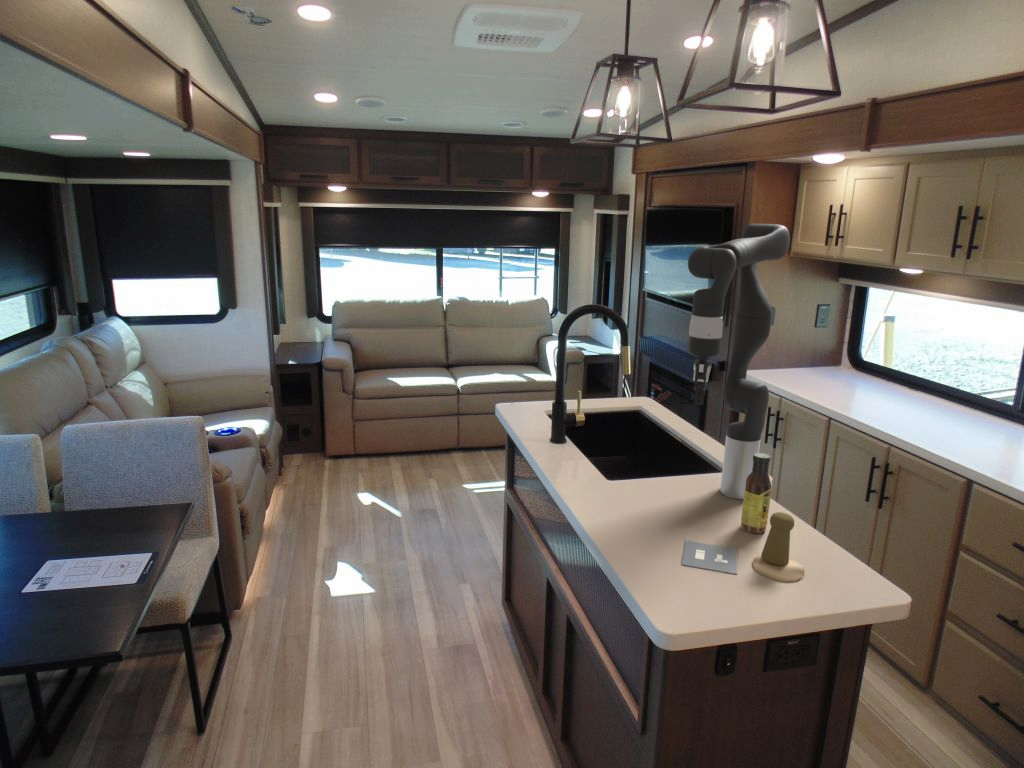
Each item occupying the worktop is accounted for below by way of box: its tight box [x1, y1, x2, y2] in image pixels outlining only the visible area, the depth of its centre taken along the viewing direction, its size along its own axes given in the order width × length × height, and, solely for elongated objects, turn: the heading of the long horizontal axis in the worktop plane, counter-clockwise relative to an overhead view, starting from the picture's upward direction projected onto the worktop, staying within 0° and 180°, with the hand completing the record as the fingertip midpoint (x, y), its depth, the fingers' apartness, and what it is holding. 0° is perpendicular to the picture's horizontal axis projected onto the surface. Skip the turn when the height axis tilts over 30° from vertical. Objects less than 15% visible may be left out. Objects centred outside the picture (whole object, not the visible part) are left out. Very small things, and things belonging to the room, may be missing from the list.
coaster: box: [752, 554, 805, 583], centre depth 152 cm, size 11×11×1 cm
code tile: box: [681, 540, 738, 575], centre depth 157 cm, size 12×12×1 cm
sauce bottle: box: [740, 452, 773, 534], centre depth 169 cm, size 6×6×20 cm
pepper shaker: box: [760, 511, 795, 565], centre depth 154 cm, size 6×6×11 cm
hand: (699, 400), depth 162 cm, fingers open, 8 cm apart
